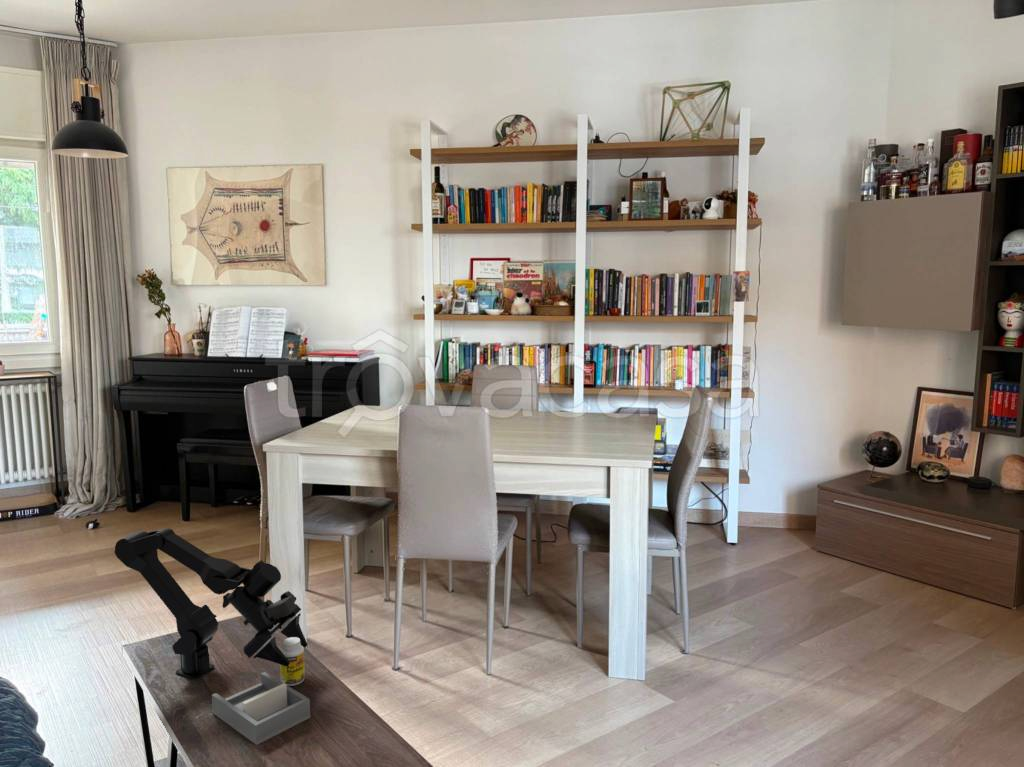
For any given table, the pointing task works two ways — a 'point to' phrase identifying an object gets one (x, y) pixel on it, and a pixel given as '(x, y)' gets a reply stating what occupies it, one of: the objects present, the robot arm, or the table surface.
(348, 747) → the table surface
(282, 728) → the pusher lane
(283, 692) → the pusher plate
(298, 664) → the supplement bottle
